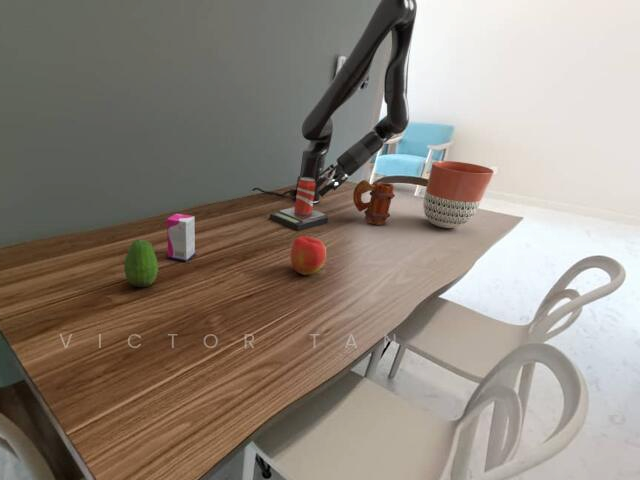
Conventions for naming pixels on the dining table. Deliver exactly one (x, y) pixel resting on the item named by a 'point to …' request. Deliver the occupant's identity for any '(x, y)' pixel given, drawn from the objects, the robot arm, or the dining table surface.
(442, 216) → the planter
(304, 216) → the scale pan
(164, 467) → the dining table surface
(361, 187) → the mug
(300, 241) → the apple
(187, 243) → the supplement box
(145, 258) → the avocado
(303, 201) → the beverage can
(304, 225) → the scale
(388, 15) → the robot arm
